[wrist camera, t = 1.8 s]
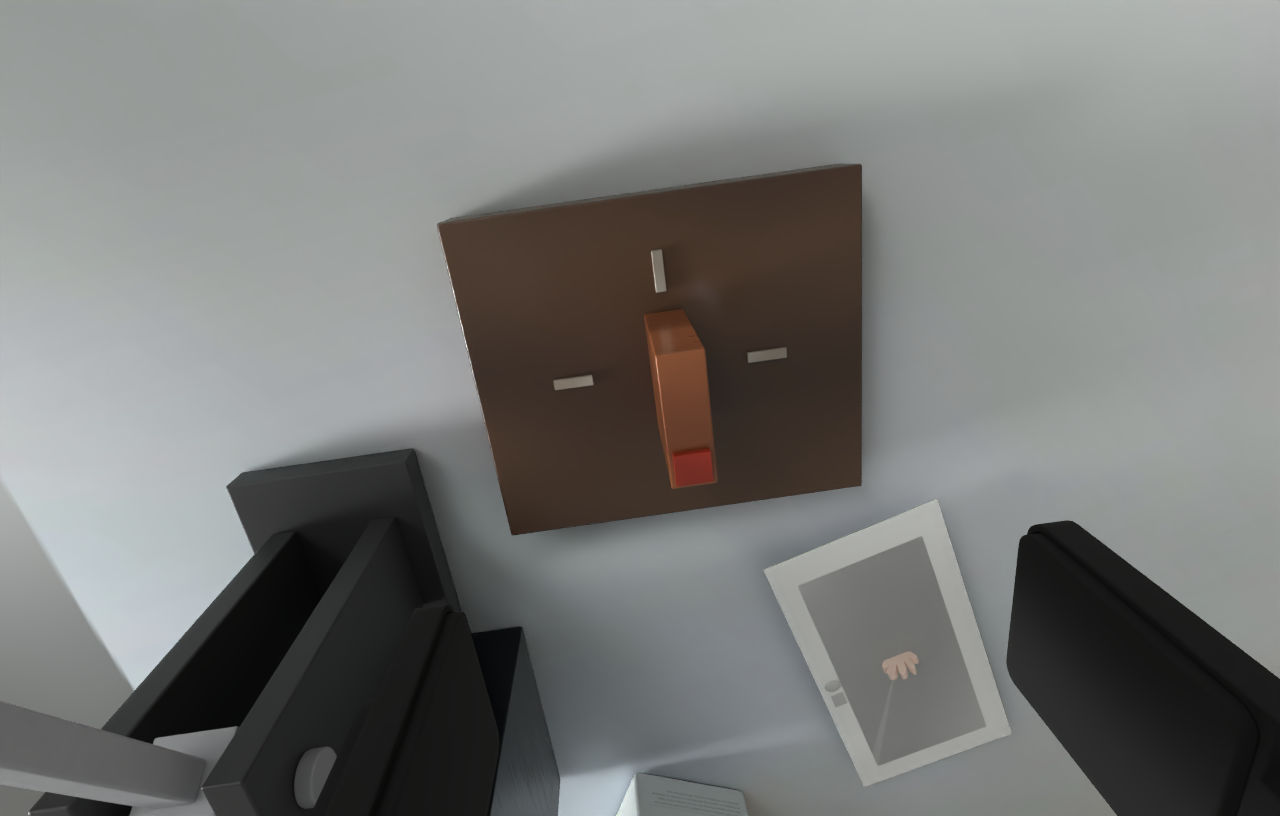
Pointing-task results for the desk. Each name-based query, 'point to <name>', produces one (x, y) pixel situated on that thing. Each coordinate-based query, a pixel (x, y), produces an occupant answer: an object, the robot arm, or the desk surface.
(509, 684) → the toaster
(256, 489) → the lever bracket
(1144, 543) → the desk surface
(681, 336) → the knob
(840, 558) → the touchpad
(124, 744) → the lever
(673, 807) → the small box
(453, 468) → the desk surface
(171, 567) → the desk surface
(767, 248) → the browning dial
